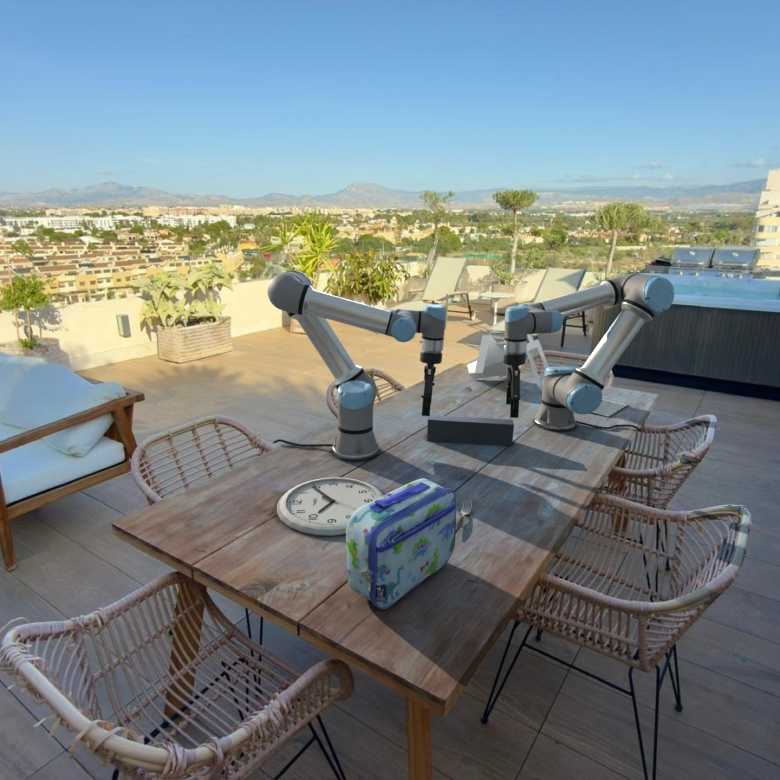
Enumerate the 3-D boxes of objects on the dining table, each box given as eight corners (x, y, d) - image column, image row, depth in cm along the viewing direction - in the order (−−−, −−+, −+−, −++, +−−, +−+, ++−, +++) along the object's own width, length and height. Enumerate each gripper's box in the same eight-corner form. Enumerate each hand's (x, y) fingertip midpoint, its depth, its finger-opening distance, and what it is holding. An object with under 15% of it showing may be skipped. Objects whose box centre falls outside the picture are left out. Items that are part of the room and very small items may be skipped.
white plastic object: (488, 421, 263) (468, 398, 238) (469, 347, 285) (449, 320, 260) (560, 397, 251) (547, 370, 226) (534, 322, 273) (519, 290, 248)
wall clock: (392, 527, 129) (269, 531, 127) (392, 533, 130) (269, 537, 127) (383, 473, 158) (282, 475, 155) (383, 478, 158) (283, 480, 156)
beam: (510, 440, 189) (512, 419, 186) (512, 445, 184) (514, 424, 182) (427, 435, 192) (428, 414, 190) (426, 440, 187) (427, 419, 185)
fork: (449, 535, 129) (449, 528, 129) (463, 505, 144) (463, 498, 143) (459, 537, 129) (460, 530, 128) (472, 507, 143) (473, 500, 142)
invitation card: (608, 416, 214) (573, 407, 224) (608, 416, 214) (573, 407, 224) (627, 404, 229) (594, 396, 238) (627, 405, 229) (594, 397, 239)
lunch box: (375, 622, 100) (376, 527, 94) (339, 595, 108) (338, 505, 101) (459, 565, 118) (465, 481, 112) (424, 545, 125) (427, 465, 119)
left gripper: (422, 342, 191) (418, 397, 198) (418, 358, 168) (413, 420, 174) (443, 344, 191) (438, 399, 197) (441, 360, 167) (436, 422, 173)
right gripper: (500, 343, 191) (498, 399, 197) (507, 361, 167) (504, 423, 173) (521, 343, 190) (518, 399, 196) (531, 361, 166) (527, 423, 173)
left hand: (426, 409), depth 185 cm, fingers open, 13 cm apart
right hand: (511, 410), depth 185 cm, fingers open, 13 cm apart
